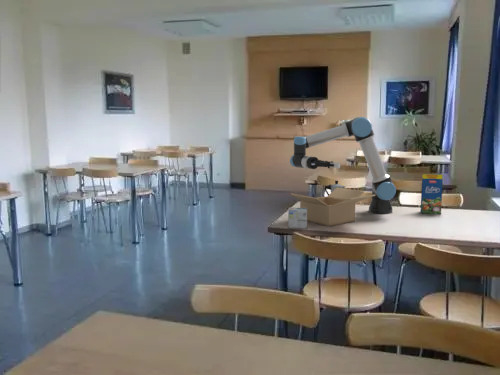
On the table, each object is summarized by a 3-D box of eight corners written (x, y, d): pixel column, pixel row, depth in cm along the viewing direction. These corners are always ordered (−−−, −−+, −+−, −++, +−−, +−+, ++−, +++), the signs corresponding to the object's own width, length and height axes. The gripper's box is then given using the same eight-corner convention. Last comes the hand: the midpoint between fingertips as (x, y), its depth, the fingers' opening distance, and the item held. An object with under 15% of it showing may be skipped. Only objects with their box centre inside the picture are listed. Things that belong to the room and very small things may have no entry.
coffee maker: (344, 205, 346) (345, 179, 344) (345, 207, 338) (346, 181, 335) (323, 204, 348) (323, 179, 345) (324, 207, 339) (324, 181, 336)
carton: (288, 221, 294) (288, 192, 292) (334, 213, 317) (335, 186, 315) (317, 228, 274) (318, 198, 272) (364, 219, 298) (365, 191, 295)
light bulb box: (306, 225, 282) (307, 207, 281) (307, 228, 276) (307, 209, 274) (288, 225, 283) (288, 207, 282) (288, 228, 277) (288, 209, 275)
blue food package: (441, 214, 313) (443, 175, 309) (421, 213, 316) (423, 174, 312) (439, 212, 319) (441, 174, 315) (420, 211, 322) (422, 173, 318)
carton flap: (350, 198, 265) (350, 199, 265) (375, 194, 278) (375, 195, 278) (330, 205, 278) (330, 206, 278) (355, 201, 290) (355, 202, 290)
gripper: (317, 168, 306) (346, 171, 288) (302, 169, 299) (331, 172, 280) (318, 156, 305) (347, 158, 287) (302, 157, 297) (331, 159, 279)
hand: (339, 165), depth 284 cm, fingers closed
